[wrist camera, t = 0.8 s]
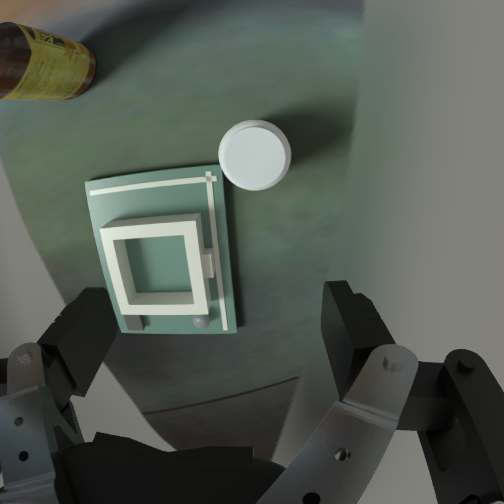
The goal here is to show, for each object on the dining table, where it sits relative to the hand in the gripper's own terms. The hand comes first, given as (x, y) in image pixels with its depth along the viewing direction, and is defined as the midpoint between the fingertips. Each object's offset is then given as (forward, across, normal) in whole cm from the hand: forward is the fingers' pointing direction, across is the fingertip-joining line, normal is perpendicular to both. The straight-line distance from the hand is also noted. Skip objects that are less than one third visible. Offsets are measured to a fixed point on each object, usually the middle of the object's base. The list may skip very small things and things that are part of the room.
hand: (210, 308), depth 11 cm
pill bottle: (+19, -2, -4) cm, 20 cm away
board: (+19, +8, +6) cm, 21 cm away
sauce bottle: (+20, +16, -14) cm, 29 cm away
